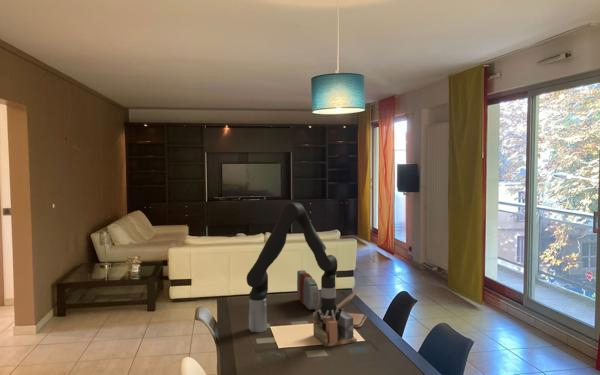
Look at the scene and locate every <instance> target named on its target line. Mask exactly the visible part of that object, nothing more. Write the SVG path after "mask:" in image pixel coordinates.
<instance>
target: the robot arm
mask: <svg viewBox="0 0 600 375" xmlns="http://www.w3.org/2000/svg"><path fill="white" fill-rule="evenodd" d="M281 210H282V211H281V212H280V215H279V217H278V221H277V222H276V225H275V226H274V228H273V229H272V230H271V233H270V235H269V236H268V238H267V240H266V241H265V244H264V245H263V248H262V249H261V252H260V253H259V255H258V257H257V259H256V260H255V262H254V264H253V266H252V267H251V269H249V272H247V275H246V283H247V285H248V286H249V287H250V288H251V290H250V292H249V294H248V296H249V297H248V299H249V302H248V303H249V304H248V305H249V310H248V330H249V331H250V332H251V333H264V332H266V331H267V330H268V311H267V310H268V309H267V306H268V305H267V304H268V303H267V295H268V290H269V275H268V271H267V270H268V269H269V267H270V266H271V265H272V264H273V263H274V262H275V261H276V259H278V257H279V255H280V254H281V252H282V250H283V249H284V247H285V244H286V241H287V237H288V232H289V229H290V228H291V226H293V224H294V222H296V223H297V224H298V226H299V228H301V231H302V233H303V237H304V239H305V242H306V245H307V246H308V247H309V249H310V250H311V252H312V253H313V255H314V258H315V262H316V263H317V266H318V267H319V269H321V271H323V274H322V275H321V277H320V278H321V279H320V280H321V282H320V284H321V286H320V308H319V309H318V310H317V309H315V312H316V315H317V319H318V321H319V322H320V323H322V329H323V330H324V331H325V330H326V323H325V322H326V319H327V316H331V318H333V319H334V320H335V321H337V320H339V318H340V314H341V311H342V309H343V308H342V309H341V308H339V307H338V308H337V307H336V306H337V291H336V290H337V289H336V276H337V271H338V259H337V257H336V256H335V255H334V254H329V255H327V253H326V249H327V248H326V247H327V246H326V245H325V244H324V242H323V240H322V239H321V238H320V236H319V234H318V233H317V231H316V229H315V228H314V225H313V224H312V222H311V219H310V218H309V216H308V214H307V212H306V209H305V207H304V206H303V204H301V203H300V202H298V201H297V202H296V201H295V202H288V203H286V204H285V205H284V206H283V208H282V209H281ZM335 311H337V312H336V316H335V314H334V313H335ZM321 312H322V313H323V314H322V319H321V316H320V314H321Z"/></svg>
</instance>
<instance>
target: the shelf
mask: <svg viewBox="0 0 600 375" xmlns="http://www.w3.org/2000/svg"><path fill="white" fill-rule="evenodd" d="M336 312H337V311H335V313H334V314H335V316H336ZM347 313H348V312H346V311H345V309H344V308H342V311H341V314H340V318H339V320H337V321H336V322H337V342H336V343H329V342H328V341H327V332H325V331H324V330H323V329H322V328H321V323H320V322H319V321H318V319H317V315H316V312H313V314H312V319H313V336H314V337H315V338H316V339H317V340H318V341H319V342H320V343H321V344H322V345H323V346H324V347H332V346H339V345H344V344H352V343H357V341H358V339H357V338H356V337H355V336H354V327H353V317H351V316H350V315H348V314H347ZM322 314H323V313H322V312H321V314H320V316H321V315H322ZM330 317H331V316H330Z"/></svg>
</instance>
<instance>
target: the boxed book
mask: <svg viewBox="0 0 600 375" xmlns="http://www.w3.org/2000/svg"><path fill="white" fill-rule="evenodd" d="M321 319H322V315H321ZM325 323H326V330H325V332H327V341H328V342H329V343H336V342H337V322H336V321H335V320H334V319H333V318H331V317H330V316H327V319H326V322H325ZM321 328H322V323H321Z"/></svg>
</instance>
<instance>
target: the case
mask: <svg viewBox="0 0 600 375" xmlns="http://www.w3.org/2000/svg"><path fill="white" fill-rule="evenodd" d="M357 292H358V290H356V289H355V290H354V291H353V292H352V293H351V294H349V295H348V296H347V297H346V298H344V299H343V300H342V301H341V302H340V303H338V304H336V307H337V308H338V307H339V308H341V309H344V307H346V306H347V305H348V304H350V303H351V302H352V300H353V298H355V297H356V295H357ZM346 313H347V314H348V315H350V316H351V317H353V329H355V328H357V329H359V328H361V327H362V326H363V324H364V323H365V322H366V319H367V318H368V316H367V315H366V314H364V313H355V312H346Z"/></svg>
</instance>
